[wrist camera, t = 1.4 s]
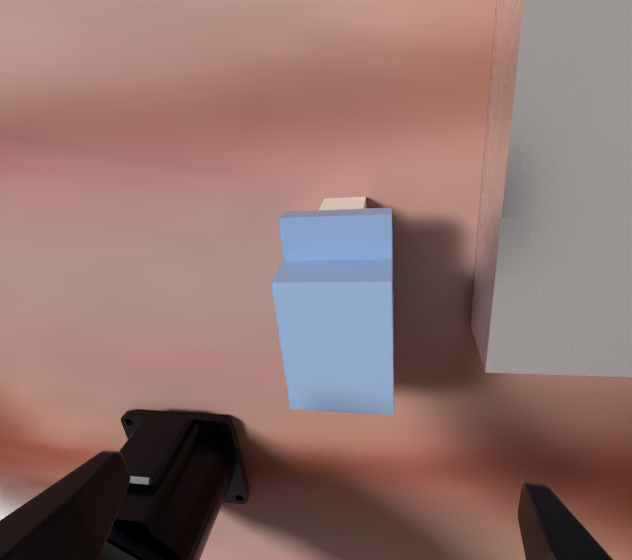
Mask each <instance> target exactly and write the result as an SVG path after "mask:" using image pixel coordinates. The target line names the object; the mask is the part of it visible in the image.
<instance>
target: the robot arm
mask: <svg viewBox="0 0 632 560" xmlns="http://www.w3.org/2000/svg"><path fill="white" fill-rule="evenodd" d="M121 423H122V425H123V428H124V430H125V433H126V436H127V438H128V440H127V442H126V443H125V444H124V446H123V447H122V448H121V450H120V451H119V452H117V451H103V452H100V453H99V454H97V455H96V456H94V457H93V458H91V459H90V460H88V461H87V462H86V463H84V464H83V465H81V466H80V467H78V468H77V469H75V470H74V471H72V472H71V473H69V474H68V475H66V476H65V477H64V478H62V479H61V480H59V481H58V482H56V483H55V484H53V485H52V486H50V487H49V488H47V489H46V490H44V491H43V492H42V493H40V494H39V495H37V496H36V497H34V498H33V499H31V500H30V501H28V502H27V503H25V504H24V505H22V506H21V507H20V508H18V509H17V510H15V511H14V512H12V513H11V514H9V515H8V516H6V517H5V518H3V519H2V520H0V560H200V557H201V555H202V552H203V550H204V547H205V545H206V542H207V540H208V537H209V535H210V532H211V530H212V528H213V525H214V523H215V520H216V518H217V515H218V513H219V510H220V508H221V505H222V503H223V502H227V503H237V504H244V503H246V502H247V501H248V498H249V494H250V493H249V489H248V484H247V480H246V476H245V471H244V467H243V463H242V458H241V454H240V450H239V446H238V441H237V437H236V433H235V428H234V424H233V422H232V420H231V419H230V418H228V417H227V416H220V415H203V414H185V413H168V412H151V411H133V410H129V411H127V412H125V414H124V415H123V416H122V418H121ZM223 425H224V426H223ZM518 520H519V526H520V531H521V536H522V541H523V546H524V552H525V557H526V560H613V559H612V558H611V557H610V556H609V555H608V554H607V553H606V551H605V550H604V549H603V548H602V547H601V546H600V545H599V544H598V542H597V541H596V540H595V539H594V538H593V537H592V536H591V535H590V533H589V532H588V531H587V530H586V529H585V528H584V527H583V525H582V524H581V523H580V522H579V521H578V520H577V519H576V518H575V516H574V515H573V514H572V513H571V512H570V511H569V510H568V509H567V507H566V506H565V505H564V504H563V503H562V502H561V501H560V499H559V498H558V497H557V496H556V495H555V494H554V493H553V492H552V490H551V489H550V488H549V487H548V486H546V485H544V484H539V483H524V484H523V486H522V490H521V495H520V501H519V507H518Z"/></svg>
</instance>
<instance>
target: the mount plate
mask: <svg viewBox="0 0 632 560" xmlns="http://www.w3.org/2000/svg"><path fill="white" fill-rule="evenodd" d="M471 328H472V331H473V334H474V337H475V341H476V344H477V347H478V350H479V354H480V357H481V360H482V363H483V367H484V370H485V373H515V374H546V375H577V376H608V377H632V0H497V4H496V16H495V29H494V41H493V54H492V66H491V78H490V91H489V103H488V116H487V128H486V141H485V153H484V165H483V178H482V190H481V203H480V215H479V227H478V240H477V252H476V265H475V277H474V289H473V302H472V314H471Z"/></svg>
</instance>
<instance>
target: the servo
mask: <svg viewBox="0 0 632 560" xmlns="http://www.w3.org/2000/svg"><path fill="white" fill-rule="evenodd" d="M278 221H279V229H280V236H281V243H282V251H283V258H284V262H283V263H282V265H281V267H280V268H279V270H278V272H277V273H276V275H275V277H274V278H273V280H272V282H271V286H272V293H273V299H274V306H275V312H276V319H277V325H278V332H279V338H280V345H281V351H282V358H283V364H284V371H285V377H286V384H287V391H288V397H289V404H290V409H296V410H315V411H334V412H353V413H372V414H391V415H394V295H393V226H392V207H390V208H366V197H348V198H326V199H324V201H323V203H322V205H321V206H320V208H319V210H317V211H292V212H283V213H282V214H281V215H280V216H279V218H278Z"/></svg>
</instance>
